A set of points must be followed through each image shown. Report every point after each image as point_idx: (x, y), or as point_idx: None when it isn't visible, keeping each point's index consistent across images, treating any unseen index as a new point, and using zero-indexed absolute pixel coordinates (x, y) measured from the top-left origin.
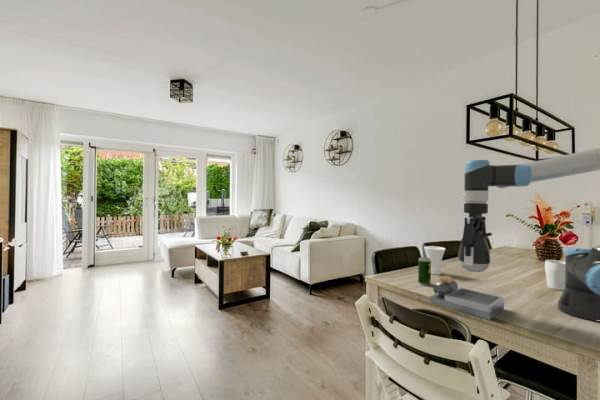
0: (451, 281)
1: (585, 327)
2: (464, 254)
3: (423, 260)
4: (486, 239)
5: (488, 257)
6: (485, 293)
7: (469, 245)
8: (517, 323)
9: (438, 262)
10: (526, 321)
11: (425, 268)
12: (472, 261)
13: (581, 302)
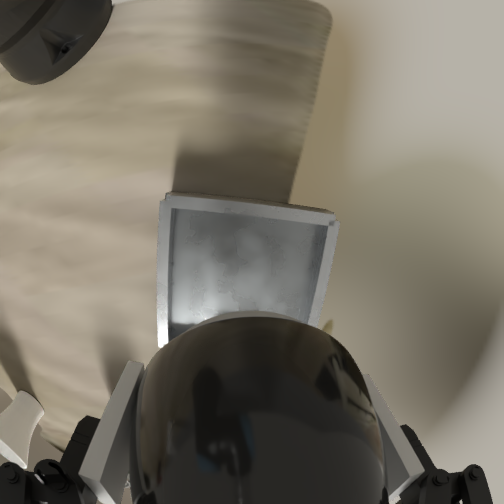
0: None
1: (178, 5)
2: None
3: (129, 478)
4: (7, 478)
5: (301, 355)
6: (160, 264)
7: (476, 465)
8: (292, 136)
9: (17, 417)
10: (250, 115)
11: None
12: (379, 393)
13: (80, 6)
